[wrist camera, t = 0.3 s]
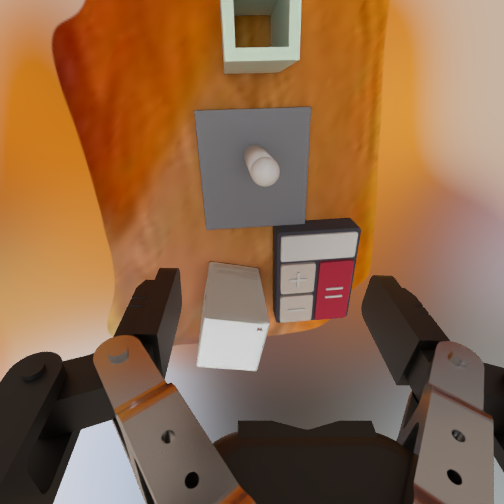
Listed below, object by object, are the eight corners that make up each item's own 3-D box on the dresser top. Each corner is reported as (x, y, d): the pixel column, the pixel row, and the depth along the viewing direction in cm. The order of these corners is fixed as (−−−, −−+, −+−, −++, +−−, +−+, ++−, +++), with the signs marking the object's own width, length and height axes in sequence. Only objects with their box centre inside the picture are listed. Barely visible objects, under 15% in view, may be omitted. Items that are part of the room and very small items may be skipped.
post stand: (195, 110, 34) (182, 112, 23) (308, 106, 35) (347, 106, 24) (207, 226, 40) (201, 271, 29) (302, 220, 41) (332, 262, 30)
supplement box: (208, 259, 42) (203, 315, 31) (259, 267, 44) (272, 323, 32) (201, 302, 45) (194, 368, 34) (249, 308, 47) (258, 373, 35)
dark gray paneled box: (276, 327, 44) (278, 235, 37) (272, 308, 48) (272, 221, 41) (348, 320, 45) (364, 230, 38) (339, 302, 49) (351, 217, 42)
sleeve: (220, 4, 30) (218, -40, 21) (279, 3, 30) (302, -40, 21) (224, 74, 33) (224, 61, 24) (278, 72, 33) (299, 59, 24)
